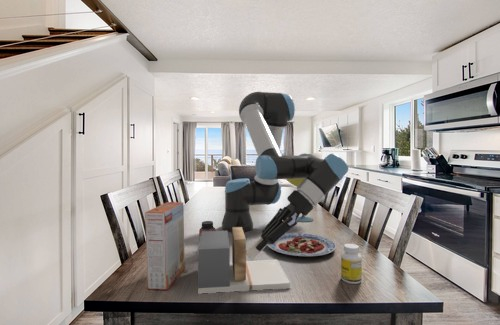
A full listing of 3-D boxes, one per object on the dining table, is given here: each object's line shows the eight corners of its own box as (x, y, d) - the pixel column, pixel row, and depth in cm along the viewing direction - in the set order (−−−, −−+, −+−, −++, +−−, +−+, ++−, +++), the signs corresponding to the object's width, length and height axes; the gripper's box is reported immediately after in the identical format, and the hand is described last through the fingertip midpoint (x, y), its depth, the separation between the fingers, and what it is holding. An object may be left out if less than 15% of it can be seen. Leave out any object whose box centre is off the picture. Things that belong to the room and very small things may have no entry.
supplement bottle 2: (337, 276, 79) (338, 242, 79) (355, 275, 80) (356, 242, 79) (346, 285, 74) (346, 249, 73) (365, 284, 74) (365, 248, 74)
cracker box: (166, 267, 85) (166, 201, 84) (185, 268, 84) (184, 201, 84) (145, 290, 71) (144, 211, 70) (167, 291, 70) (166, 211, 70)
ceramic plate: (292, 234, 121) (292, 227, 121) (348, 248, 103) (348, 240, 103) (252, 248, 103) (252, 240, 103) (310, 268, 85) (310, 259, 84)
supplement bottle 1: (218, 251, 99) (218, 220, 99) (211, 257, 93) (211, 224, 93) (204, 249, 101) (204, 219, 101) (196, 255, 95) (195, 223, 95)
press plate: (241, 262, 84) (241, 227, 84) (245, 280, 72) (245, 239, 72) (232, 262, 84) (232, 227, 84) (234, 280, 72) (234, 239, 72)
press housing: (277, 263, 88) (277, 228, 87) (290, 288, 72) (290, 245, 71) (201, 267, 85) (201, 231, 84) (198, 294, 69) (198, 249, 69)
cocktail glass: (320, 216, 153) (320, 172, 152) (321, 224, 135) (321, 175, 135) (287, 215, 157) (288, 172, 156) (284, 222, 139) (284, 174, 139)
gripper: (321, 211, 74) (261, 274, 72) (306, 202, 87) (254, 256, 85) (303, 192, 73) (241, 256, 71) (290, 186, 86) (237, 240, 84)
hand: (248, 256), depth 78 cm, fingers closed
